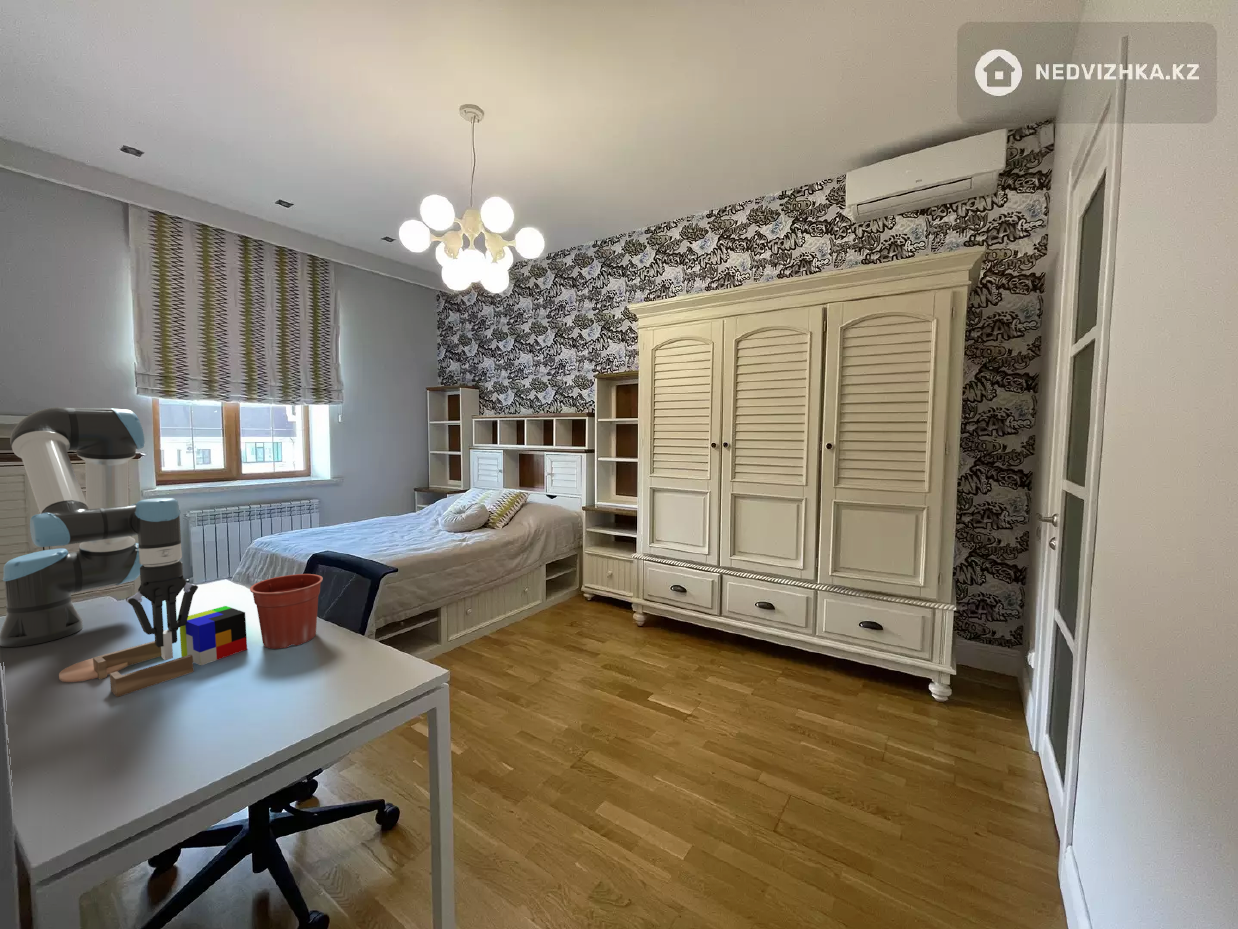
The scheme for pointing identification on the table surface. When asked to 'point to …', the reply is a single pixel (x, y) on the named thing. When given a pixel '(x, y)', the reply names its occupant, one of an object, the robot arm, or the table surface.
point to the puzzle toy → (213, 634)
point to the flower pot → (287, 609)
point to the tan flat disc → (85, 671)
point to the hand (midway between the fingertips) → (167, 657)
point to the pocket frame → (143, 676)
